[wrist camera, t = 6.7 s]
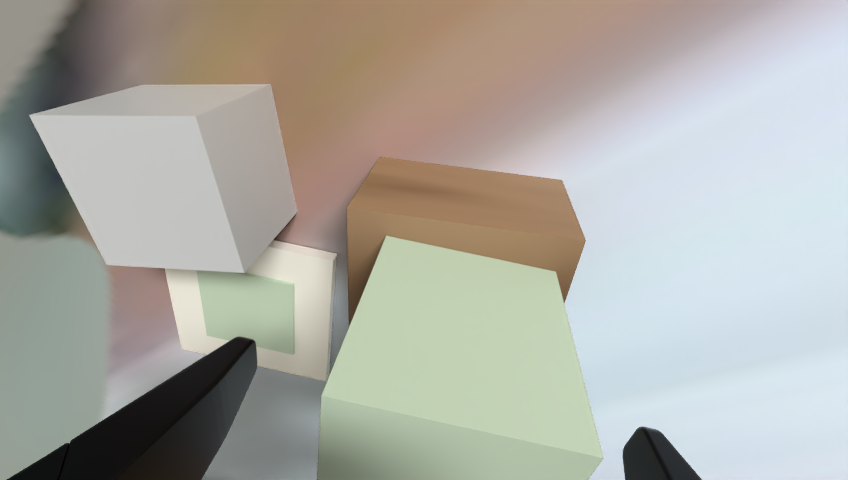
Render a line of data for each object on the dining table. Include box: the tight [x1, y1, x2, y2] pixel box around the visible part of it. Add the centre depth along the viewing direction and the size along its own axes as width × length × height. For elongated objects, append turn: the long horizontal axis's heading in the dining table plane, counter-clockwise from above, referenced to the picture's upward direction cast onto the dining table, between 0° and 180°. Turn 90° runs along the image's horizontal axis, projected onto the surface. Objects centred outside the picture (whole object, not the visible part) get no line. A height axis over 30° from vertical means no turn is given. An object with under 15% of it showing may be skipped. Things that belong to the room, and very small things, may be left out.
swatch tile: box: [165, 240, 337, 381], centre depth 18 cm, size 7×7×1 cm
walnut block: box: [347, 157, 586, 326], centre depth 13 cm, size 6×6×4 cm
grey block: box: [29, 84, 297, 273], centre depth 13 cm, size 4×4×4 cm
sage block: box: [317, 236, 604, 480], centre depth 10 cm, size 4×4×5 cm
